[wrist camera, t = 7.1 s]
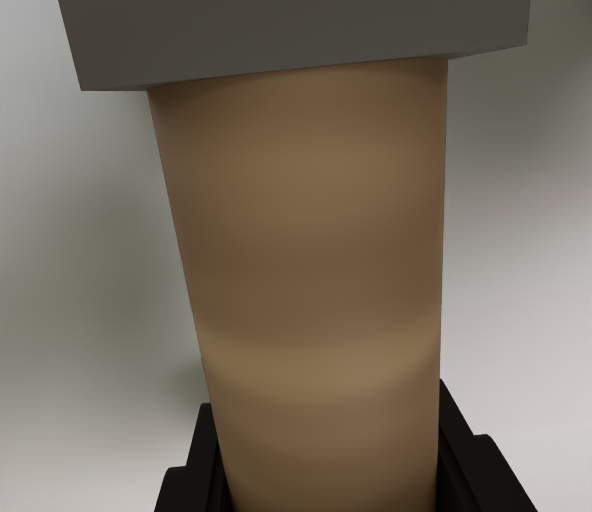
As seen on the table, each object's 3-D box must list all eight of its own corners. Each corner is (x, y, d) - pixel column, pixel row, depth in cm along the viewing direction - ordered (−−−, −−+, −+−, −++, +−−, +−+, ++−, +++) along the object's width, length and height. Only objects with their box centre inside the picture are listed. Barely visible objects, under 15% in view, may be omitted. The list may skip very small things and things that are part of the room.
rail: (160, -2, 7) (31, -105, 4) (403, -27, 7) (543, -159, 4) (280, 660, 14) (282, 878, 10) (408, 647, 14) (458, 859, 10)
